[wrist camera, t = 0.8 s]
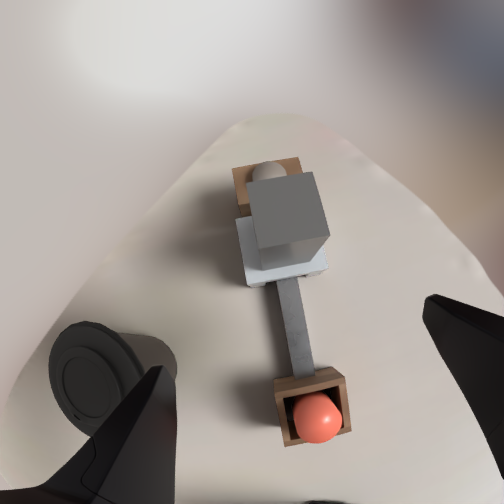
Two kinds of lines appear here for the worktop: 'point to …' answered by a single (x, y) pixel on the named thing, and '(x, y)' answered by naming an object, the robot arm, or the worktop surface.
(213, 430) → the worktop surface
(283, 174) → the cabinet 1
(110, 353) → the coffee cup
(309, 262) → the plate
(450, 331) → the robot arm
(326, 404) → the gauge button
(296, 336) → the handrail
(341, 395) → the cabinet
